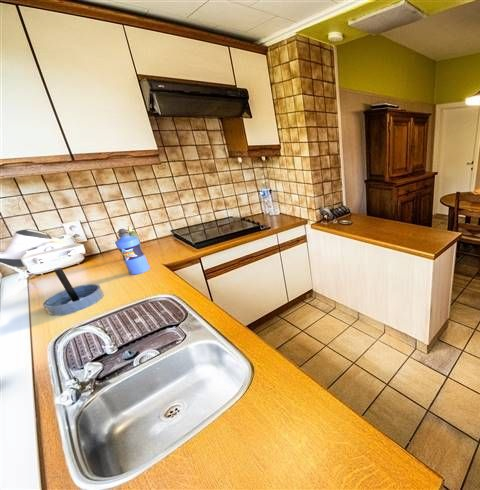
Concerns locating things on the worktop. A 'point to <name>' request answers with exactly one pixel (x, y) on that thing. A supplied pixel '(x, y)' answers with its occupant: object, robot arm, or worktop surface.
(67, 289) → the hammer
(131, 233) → the vegetable
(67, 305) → the blue grey round bowl
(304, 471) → the worktop surface
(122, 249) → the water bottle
